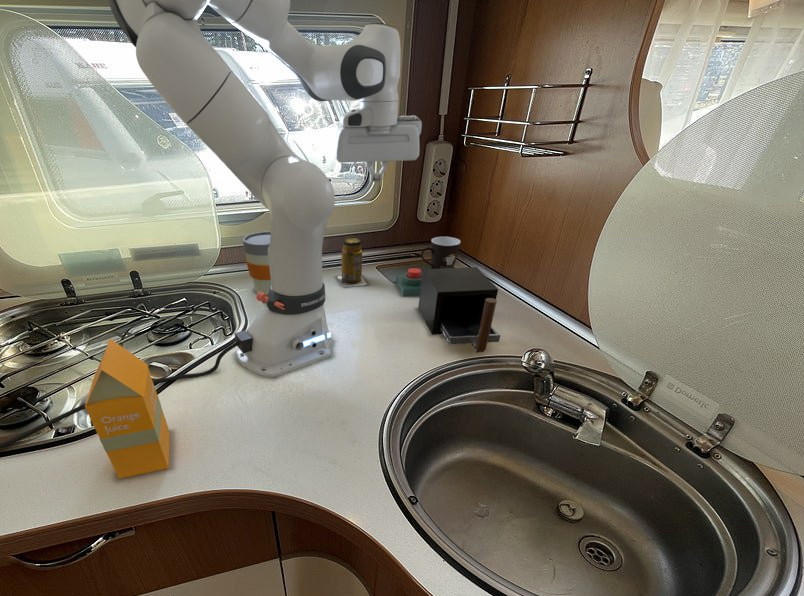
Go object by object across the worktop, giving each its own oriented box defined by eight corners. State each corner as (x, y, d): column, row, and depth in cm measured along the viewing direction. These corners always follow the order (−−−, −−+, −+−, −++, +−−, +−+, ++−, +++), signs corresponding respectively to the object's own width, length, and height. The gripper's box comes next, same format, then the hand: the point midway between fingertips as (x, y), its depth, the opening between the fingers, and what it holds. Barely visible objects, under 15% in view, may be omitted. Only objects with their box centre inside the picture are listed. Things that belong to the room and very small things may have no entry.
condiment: (359, 274, 133) (360, 236, 125) (367, 285, 126) (368, 244, 119) (337, 276, 131) (336, 238, 124) (343, 287, 125) (343, 247, 118)
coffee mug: (453, 268, 136) (458, 236, 130) (457, 278, 129) (462, 245, 123) (417, 267, 137) (420, 236, 131) (418, 277, 130) (422, 245, 124)
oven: (488, 332, 102) (498, 289, 95) (431, 335, 101) (437, 292, 95) (469, 306, 113) (476, 266, 107) (417, 309, 112) (422, 269, 106)
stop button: (421, 279, 120) (422, 272, 119) (409, 279, 120) (409, 273, 118) (418, 274, 123) (419, 267, 121) (406, 274, 122) (407, 268, 121)
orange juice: (117, 479, 66) (67, 374, 54) (124, 441, 73) (80, 341, 61) (170, 468, 68) (132, 364, 56) (171, 432, 75) (138, 333, 63)
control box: (430, 295, 119) (432, 281, 117) (402, 296, 119) (404, 283, 117) (422, 281, 127) (423, 268, 125) (395, 282, 127) (396, 269, 125)
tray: (507, 353, 90) (520, 301, 83) (455, 356, 89) (465, 303, 82) (480, 319, 103) (490, 270, 96) (435, 321, 102) (441, 273, 95)
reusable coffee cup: (286, 299, 118) (281, 246, 110) (243, 297, 120) (235, 244, 111) (296, 282, 128) (292, 231, 120) (256, 280, 130) (250, 230, 121)
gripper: (419, 114, 101) (414, 177, 109) (334, 116, 99) (335, 180, 108) (426, 115, 96) (419, 182, 104) (336, 118, 94) (337, 185, 103)
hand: (376, 181), depth 106 cm, fingers closed
